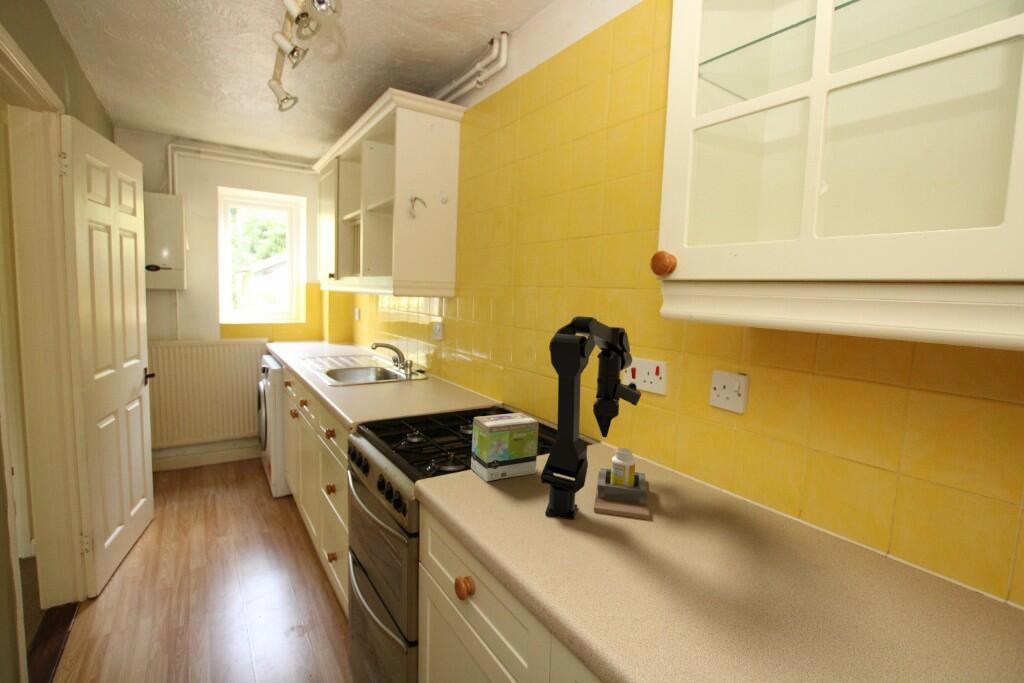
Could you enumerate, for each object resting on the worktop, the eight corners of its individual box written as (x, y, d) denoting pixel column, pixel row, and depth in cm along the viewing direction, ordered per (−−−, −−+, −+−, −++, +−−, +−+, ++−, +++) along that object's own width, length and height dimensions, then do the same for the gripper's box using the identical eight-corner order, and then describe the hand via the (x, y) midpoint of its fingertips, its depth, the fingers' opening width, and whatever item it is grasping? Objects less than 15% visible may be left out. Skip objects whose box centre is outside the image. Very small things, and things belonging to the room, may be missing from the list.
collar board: (649, 519, 102) (650, 502, 102) (593, 511, 105) (594, 494, 105) (644, 480, 124) (645, 465, 123) (598, 474, 126) (599, 460, 126)
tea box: (486, 483, 118) (488, 426, 117) (470, 469, 127) (471, 416, 125) (537, 473, 126) (539, 420, 124) (518, 461, 134) (520, 410, 133)
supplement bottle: (630, 486, 117) (633, 447, 116) (635, 496, 111) (638, 455, 110) (607, 485, 117) (610, 446, 116) (612, 495, 112) (614, 454, 110)
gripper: (641, 383, 112) (637, 446, 114) (639, 370, 130) (635, 425, 132) (594, 379, 115) (591, 441, 117) (598, 367, 133) (595, 421, 135)
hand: (605, 431), depth 125 cm, fingers open, 9 cm apart
